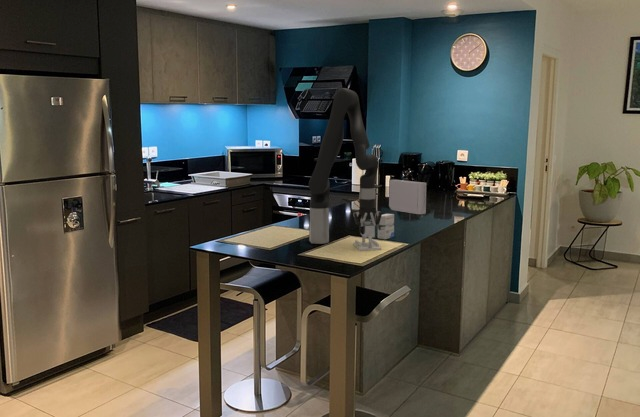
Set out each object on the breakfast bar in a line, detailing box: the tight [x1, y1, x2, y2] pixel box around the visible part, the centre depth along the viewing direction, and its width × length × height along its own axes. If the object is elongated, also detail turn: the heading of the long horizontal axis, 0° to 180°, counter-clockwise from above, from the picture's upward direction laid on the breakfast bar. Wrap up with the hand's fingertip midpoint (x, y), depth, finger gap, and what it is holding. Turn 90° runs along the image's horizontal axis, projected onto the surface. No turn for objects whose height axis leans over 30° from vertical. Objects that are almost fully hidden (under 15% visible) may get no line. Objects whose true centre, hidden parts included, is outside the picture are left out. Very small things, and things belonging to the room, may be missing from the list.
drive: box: [359, 220, 376, 239], centre depth 267 cm, size 4×9×6 cm, turn 10°
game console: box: [388, 179, 427, 215], centre depth 371 cm, size 6×27×20 cm, turn 39°
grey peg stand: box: [352, 235, 382, 252], centre depth 267 cm, size 10×14×6 cm
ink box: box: [377, 213, 395, 240], centre depth 289 cm, size 8×5×12 cm, turn 141°
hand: (367, 233), depth 267 cm, fingers closed on drive, 4 cm apart
